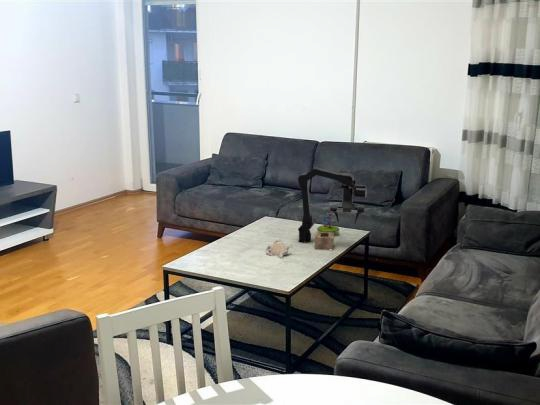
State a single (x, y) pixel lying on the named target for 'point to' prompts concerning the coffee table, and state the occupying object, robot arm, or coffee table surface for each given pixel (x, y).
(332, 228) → the potted plant
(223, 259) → the coffee table surface
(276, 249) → the turtle
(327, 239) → the coin box
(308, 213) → the robot arm
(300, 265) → the coffee table surface
